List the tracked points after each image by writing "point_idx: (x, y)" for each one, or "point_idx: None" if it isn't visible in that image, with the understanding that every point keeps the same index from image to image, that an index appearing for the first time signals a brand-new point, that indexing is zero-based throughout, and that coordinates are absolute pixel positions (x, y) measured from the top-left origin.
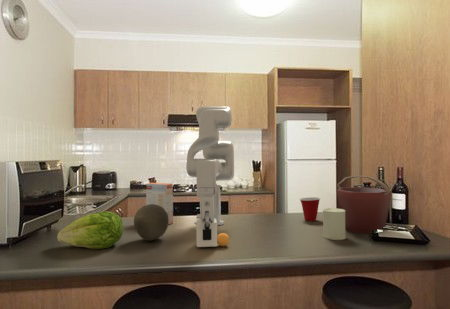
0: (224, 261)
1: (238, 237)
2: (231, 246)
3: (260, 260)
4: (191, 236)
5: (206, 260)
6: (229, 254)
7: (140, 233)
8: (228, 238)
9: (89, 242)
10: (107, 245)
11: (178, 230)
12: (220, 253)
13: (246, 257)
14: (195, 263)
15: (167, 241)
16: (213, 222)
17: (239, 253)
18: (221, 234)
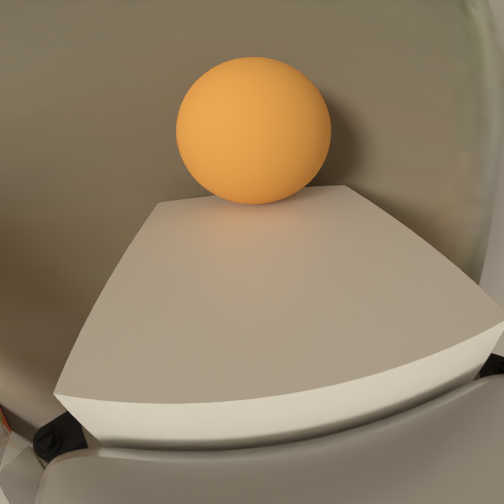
0: (500, 162)
1: (16, 45)
2: (262, 55)
3: (489, 9)
4: (53, 351)
5: (474, 242)
6: (438, 109)
7: None
8: (292, 67)
9: None
10: None
11: (12, 384)
12: (417, 162)
13: (472, 40)
14: (478, 280)
15: None
16: (462, 376)
17: (425, 44)
18: (298, 154)
